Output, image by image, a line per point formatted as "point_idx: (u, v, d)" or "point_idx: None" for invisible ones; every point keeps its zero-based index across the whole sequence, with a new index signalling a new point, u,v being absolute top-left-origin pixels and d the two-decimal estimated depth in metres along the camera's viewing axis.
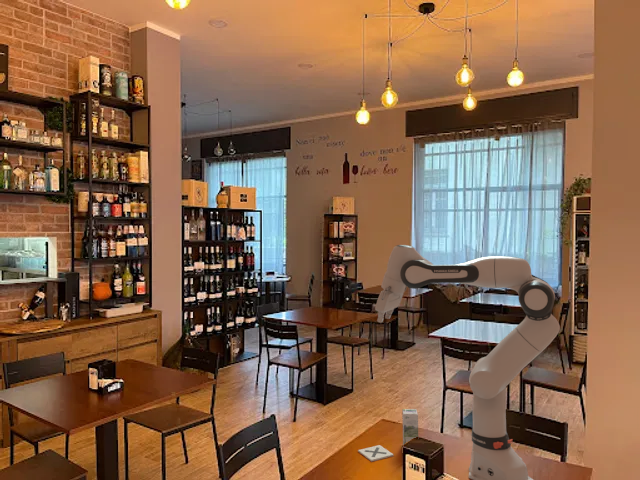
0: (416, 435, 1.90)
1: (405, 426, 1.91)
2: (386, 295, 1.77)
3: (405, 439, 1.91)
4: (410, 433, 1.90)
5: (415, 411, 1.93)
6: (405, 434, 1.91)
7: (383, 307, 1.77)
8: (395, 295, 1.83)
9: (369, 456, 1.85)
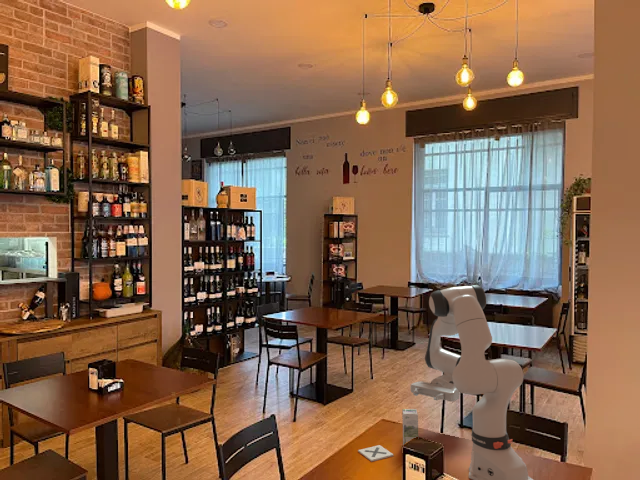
0: (416, 435, 1.90)
1: (405, 426, 1.91)
2: None
3: (405, 439, 1.91)
4: (410, 433, 1.90)
5: (415, 411, 1.93)
6: (405, 434, 1.91)
7: None
8: (433, 382, 2.12)
9: (369, 456, 1.85)
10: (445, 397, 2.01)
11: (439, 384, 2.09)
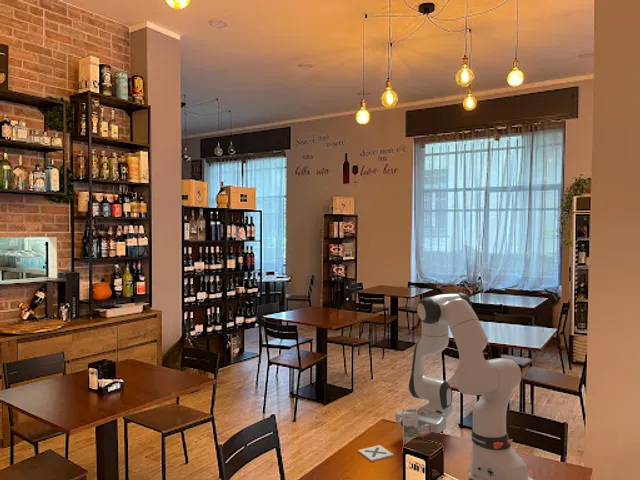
0: (416, 435, 1.90)
1: (405, 426, 1.91)
2: None
3: (405, 439, 1.91)
4: (410, 433, 1.90)
5: (415, 411, 1.93)
6: (405, 434, 1.91)
7: None
8: (419, 411, 2.02)
9: (369, 456, 1.85)
10: (430, 428, 1.91)
11: (425, 413, 2.00)
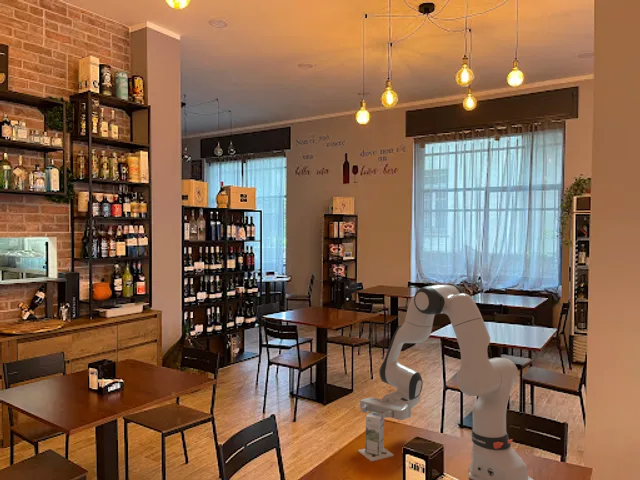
0: (377, 440, 1.85)
1: (367, 429, 1.86)
2: None
3: (366, 442, 1.87)
4: (372, 437, 1.86)
5: None
6: (367, 437, 1.87)
7: None
8: None
9: (369, 456, 1.85)
10: (394, 415, 1.87)
11: (390, 401, 1.95)
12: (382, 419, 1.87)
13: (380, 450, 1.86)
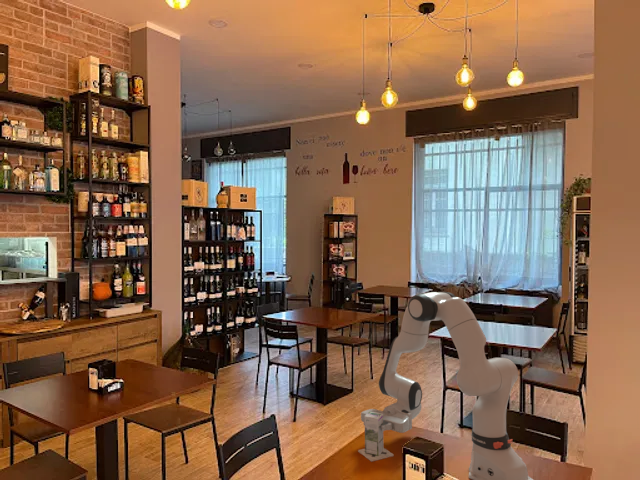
0: (376, 440, 1.85)
1: (366, 429, 1.87)
2: None
3: (366, 442, 1.87)
4: (371, 437, 1.86)
5: (378, 415, 1.87)
6: (366, 437, 1.87)
7: None
8: (385, 411, 1.98)
9: (369, 456, 1.85)
10: (395, 428, 1.87)
11: (391, 413, 1.95)
12: (381, 419, 1.87)
13: (380, 450, 1.86)
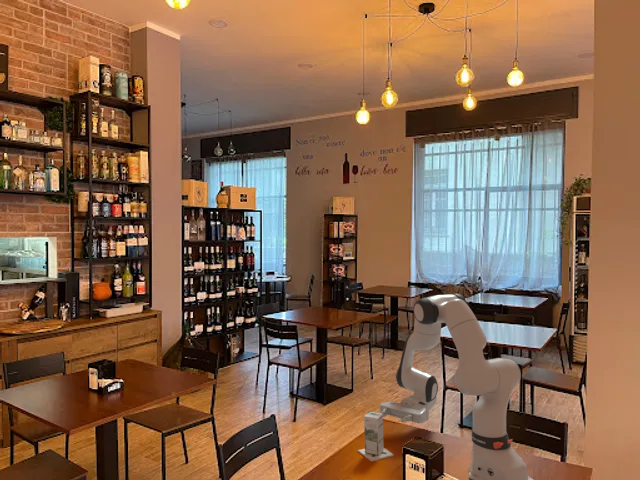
0: (376, 440, 1.85)
1: (366, 429, 1.87)
2: None
3: (366, 442, 1.87)
4: (370, 437, 1.86)
5: (378, 415, 1.87)
6: (366, 437, 1.87)
7: None
8: (402, 403, 2.07)
9: (369, 456, 1.85)
10: (413, 419, 1.96)
11: (408, 405, 2.04)
12: (380, 419, 1.88)
13: (380, 450, 1.86)
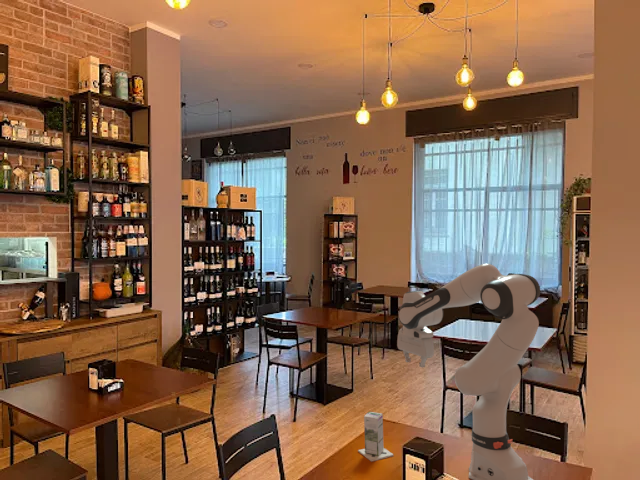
0: (376, 440, 1.85)
1: (366, 429, 1.87)
2: None
3: (366, 442, 1.87)
4: (370, 437, 1.86)
5: (378, 415, 1.87)
6: (366, 437, 1.87)
7: None
8: None
9: (369, 456, 1.85)
10: None
11: (411, 339, 1.97)
12: (380, 419, 1.88)
13: (380, 450, 1.86)
